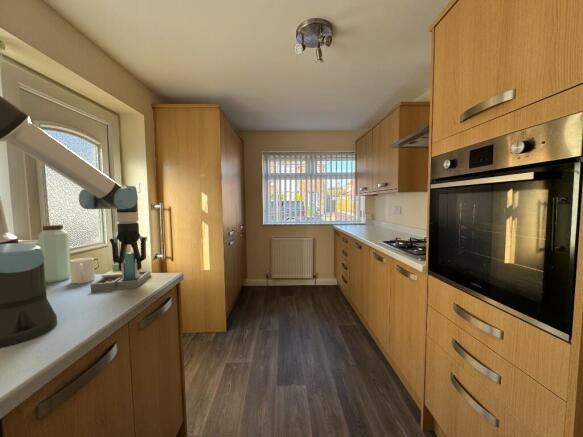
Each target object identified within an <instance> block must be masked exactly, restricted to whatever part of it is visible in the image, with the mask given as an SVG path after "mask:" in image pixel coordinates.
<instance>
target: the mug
mask: <svg viewBox="0 0 583 437" xmlns="http://www.w3.org/2000/svg"><path fill="white" fill-rule="evenodd" d="M94 261H95V259H94V257H88V256H87V257H80V258H79V257H78V258H73V259H70V270H71V276H70V279H71V280H70V282H71V284H74V283H78V284H84V282H85V283H88V282H89V281H90V282H91V281H95V280H96V278H95V276H96V275H95V262H94Z"/></svg>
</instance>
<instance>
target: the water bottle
mask: <svg viewBox="0 0 583 437" xmlns="http://www.w3.org/2000/svg"><path fill="white" fill-rule="evenodd" d="M37 238H38V246H40V247H41V248H42V250H43V254H44V257H45V260H44V265H45V280H46V283H48V284H49V283H57V282H58V283H59V282H62V281H66V280H68V279H69V278H71V270H70V261H71V253H70V252H71V251H70V250H71V249H70V236H69V232H68V231H66V230H65V229H64V224H53V225H51V224H50V225H42V231H41V232H39V233H38V235H37Z"/></svg>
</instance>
